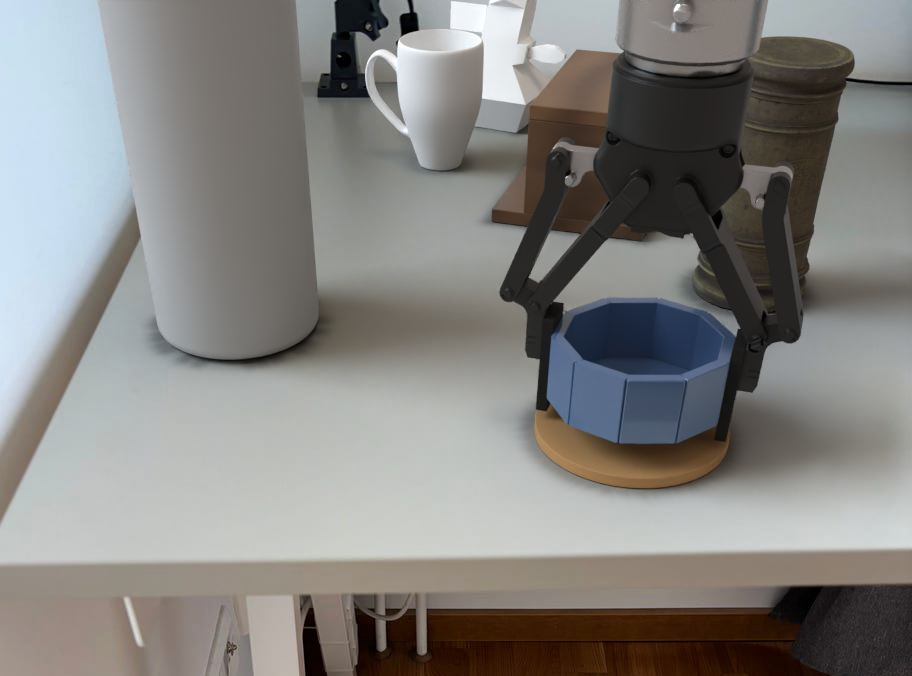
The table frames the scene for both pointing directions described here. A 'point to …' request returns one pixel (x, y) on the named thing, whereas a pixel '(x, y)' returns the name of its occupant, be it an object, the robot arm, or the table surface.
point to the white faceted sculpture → (506, 59)
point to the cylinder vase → (218, 169)
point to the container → (784, 149)
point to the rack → (558, 116)
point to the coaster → (627, 455)
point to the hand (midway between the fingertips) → (632, 415)
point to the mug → (435, 92)
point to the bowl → (639, 370)
